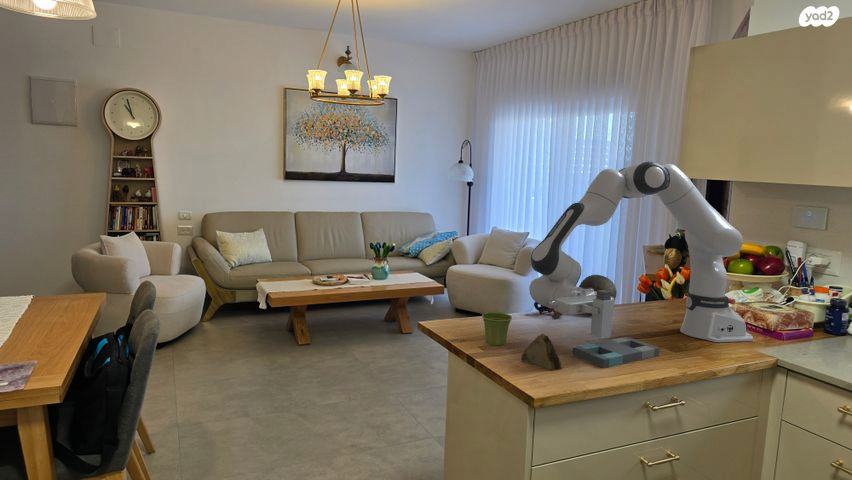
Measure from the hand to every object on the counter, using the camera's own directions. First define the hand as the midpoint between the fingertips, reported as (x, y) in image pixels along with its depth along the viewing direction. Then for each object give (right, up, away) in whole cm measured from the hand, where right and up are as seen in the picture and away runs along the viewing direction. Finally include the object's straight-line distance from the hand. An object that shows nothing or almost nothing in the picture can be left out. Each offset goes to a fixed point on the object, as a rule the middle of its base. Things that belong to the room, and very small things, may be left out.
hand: (604, 310), depth 163 cm
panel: (+5, -14, +6) cm, 16 cm away
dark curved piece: (-5, -8, +50) cm, 51 cm away
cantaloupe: (+14, -8, +55) cm, 57 cm away
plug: (-1, -8, +2) cm, 8 cm away
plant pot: (-30, -12, +15) cm, 35 cm away
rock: (-20, -15, -4) cm, 25 cm away
